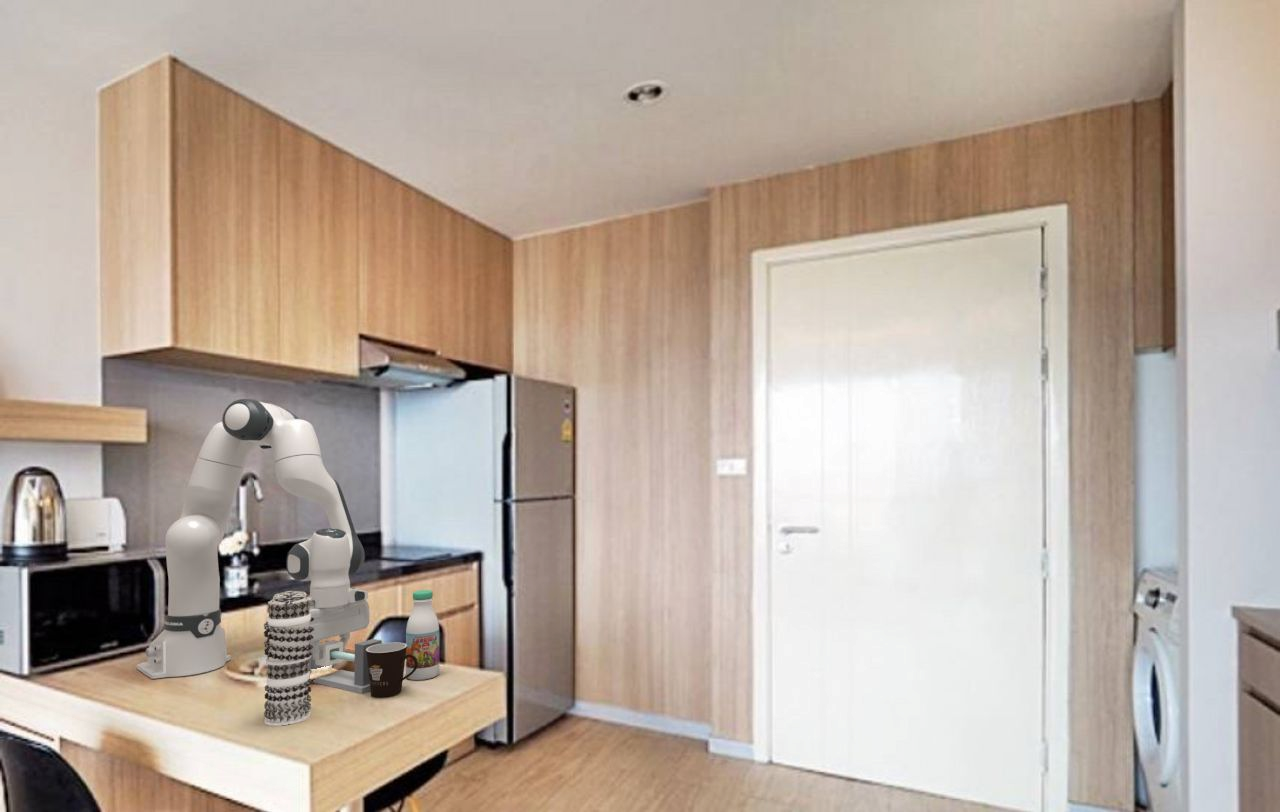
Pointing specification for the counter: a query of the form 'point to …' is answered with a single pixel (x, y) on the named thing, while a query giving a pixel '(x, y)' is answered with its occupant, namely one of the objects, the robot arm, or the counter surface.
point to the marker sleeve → (326, 653)
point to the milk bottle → (422, 637)
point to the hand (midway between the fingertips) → (329, 656)
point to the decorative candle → (288, 659)
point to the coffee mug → (387, 668)
